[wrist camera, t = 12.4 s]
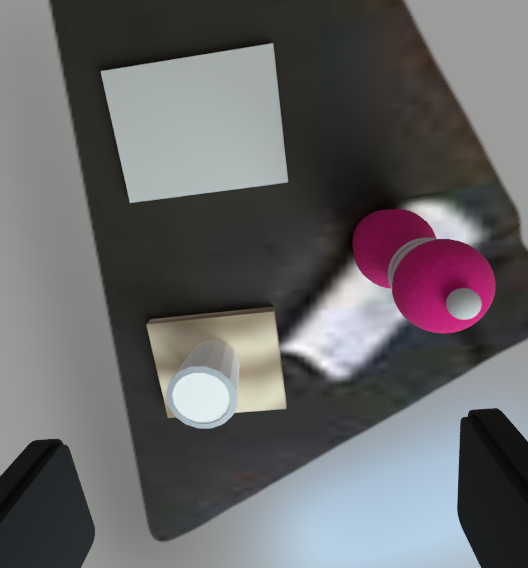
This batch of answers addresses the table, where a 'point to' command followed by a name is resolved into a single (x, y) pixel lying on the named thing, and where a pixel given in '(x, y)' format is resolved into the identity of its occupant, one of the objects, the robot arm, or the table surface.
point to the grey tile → (198, 123)
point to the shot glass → (205, 386)
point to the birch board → (239, 336)
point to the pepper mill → (424, 270)
